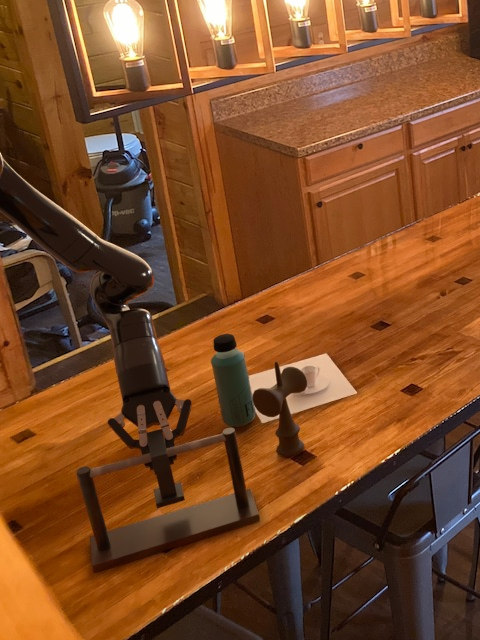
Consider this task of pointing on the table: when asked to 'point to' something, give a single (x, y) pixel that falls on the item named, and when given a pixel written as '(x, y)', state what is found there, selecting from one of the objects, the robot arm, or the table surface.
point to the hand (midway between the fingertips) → (162, 465)
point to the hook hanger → (163, 472)
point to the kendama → (282, 407)
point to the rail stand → (170, 526)
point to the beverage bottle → (232, 382)
